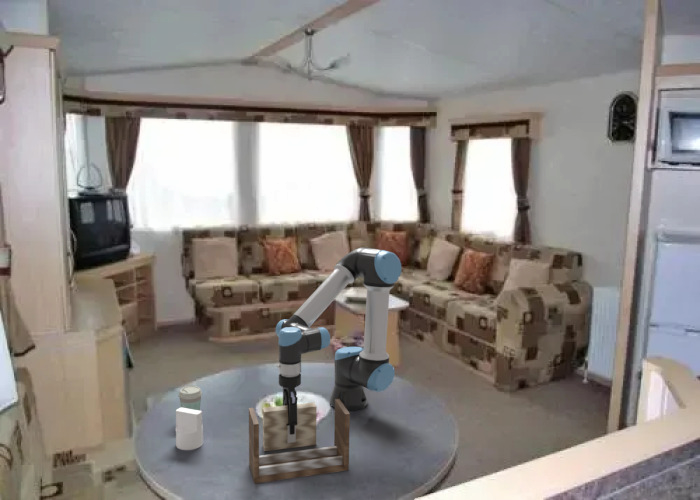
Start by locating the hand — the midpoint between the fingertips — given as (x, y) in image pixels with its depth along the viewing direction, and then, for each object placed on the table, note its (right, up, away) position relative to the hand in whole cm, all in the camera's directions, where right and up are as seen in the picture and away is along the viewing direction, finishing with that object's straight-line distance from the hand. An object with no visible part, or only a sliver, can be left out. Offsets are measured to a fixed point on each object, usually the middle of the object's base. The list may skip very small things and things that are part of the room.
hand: (289, 437), depth 200 cm
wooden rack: (+4, -5, -14) cm, 15 cm away
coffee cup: (-39, 0, +19) cm, 43 cm away
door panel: (0, -3, 0) cm, 3 cm away
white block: (-35, -2, 0) cm, 35 cm away
